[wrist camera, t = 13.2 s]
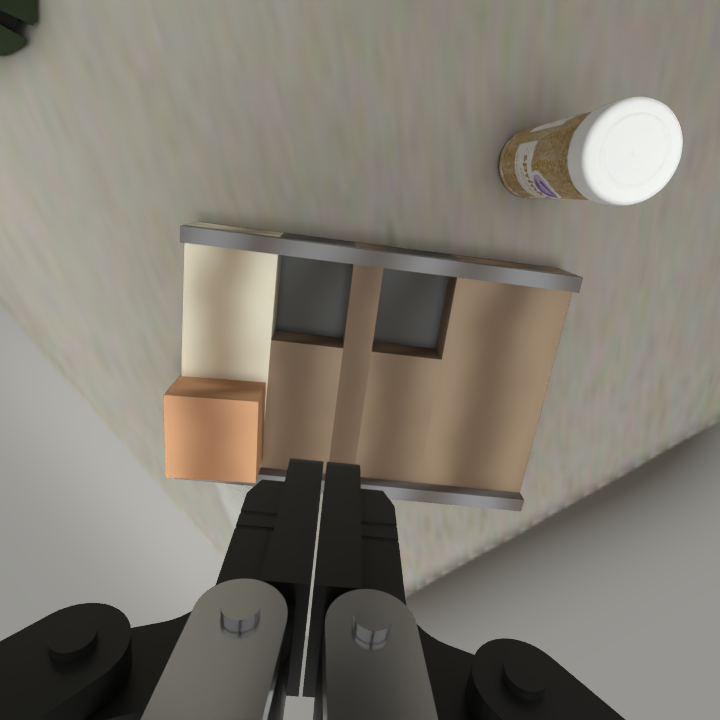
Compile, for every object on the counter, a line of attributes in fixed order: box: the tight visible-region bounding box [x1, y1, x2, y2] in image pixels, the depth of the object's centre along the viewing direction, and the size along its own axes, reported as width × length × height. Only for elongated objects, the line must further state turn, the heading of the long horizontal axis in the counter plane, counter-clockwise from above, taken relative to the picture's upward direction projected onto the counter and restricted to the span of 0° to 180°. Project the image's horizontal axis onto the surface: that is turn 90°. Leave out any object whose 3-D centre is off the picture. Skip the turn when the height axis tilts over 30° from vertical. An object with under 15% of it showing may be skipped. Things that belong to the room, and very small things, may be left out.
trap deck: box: [175, 222, 583, 511], centre depth 38 cm, size 26×18×4 cm
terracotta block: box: [164, 376, 266, 483], centre depth 36 cm, size 6×6×4 cm
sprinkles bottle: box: [499, 97, 683, 205], centre depth 29 cm, size 5×5×14 cm
